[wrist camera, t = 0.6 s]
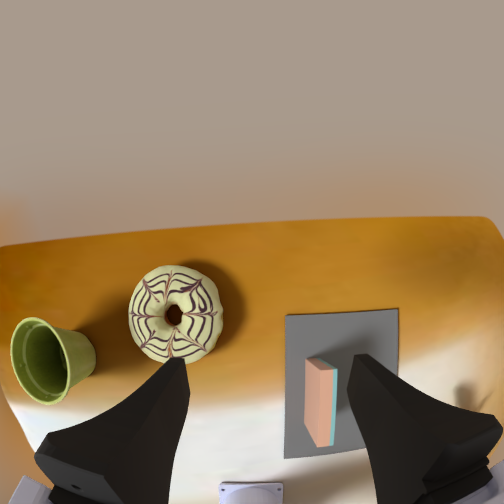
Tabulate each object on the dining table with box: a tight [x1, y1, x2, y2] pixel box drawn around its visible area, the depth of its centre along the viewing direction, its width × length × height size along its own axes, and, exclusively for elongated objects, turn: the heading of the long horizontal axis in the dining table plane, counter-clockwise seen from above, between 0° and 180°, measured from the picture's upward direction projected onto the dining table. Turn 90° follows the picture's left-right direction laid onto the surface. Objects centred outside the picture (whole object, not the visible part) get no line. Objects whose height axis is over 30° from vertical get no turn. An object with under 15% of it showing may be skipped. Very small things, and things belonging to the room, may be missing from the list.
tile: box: [304, 358, 337, 447], centre depth 26 cm, size 8×2×7 cm, turn 1°
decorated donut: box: [129, 265, 223, 364], centre depth 30 cm, size 10×11×4 cm
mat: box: [284, 309, 398, 459], centre depth 30 cm, size 18×14×1 cm
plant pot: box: [11, 317, 96, 405], centre depth 26 cm, size 9×9×9 cm
